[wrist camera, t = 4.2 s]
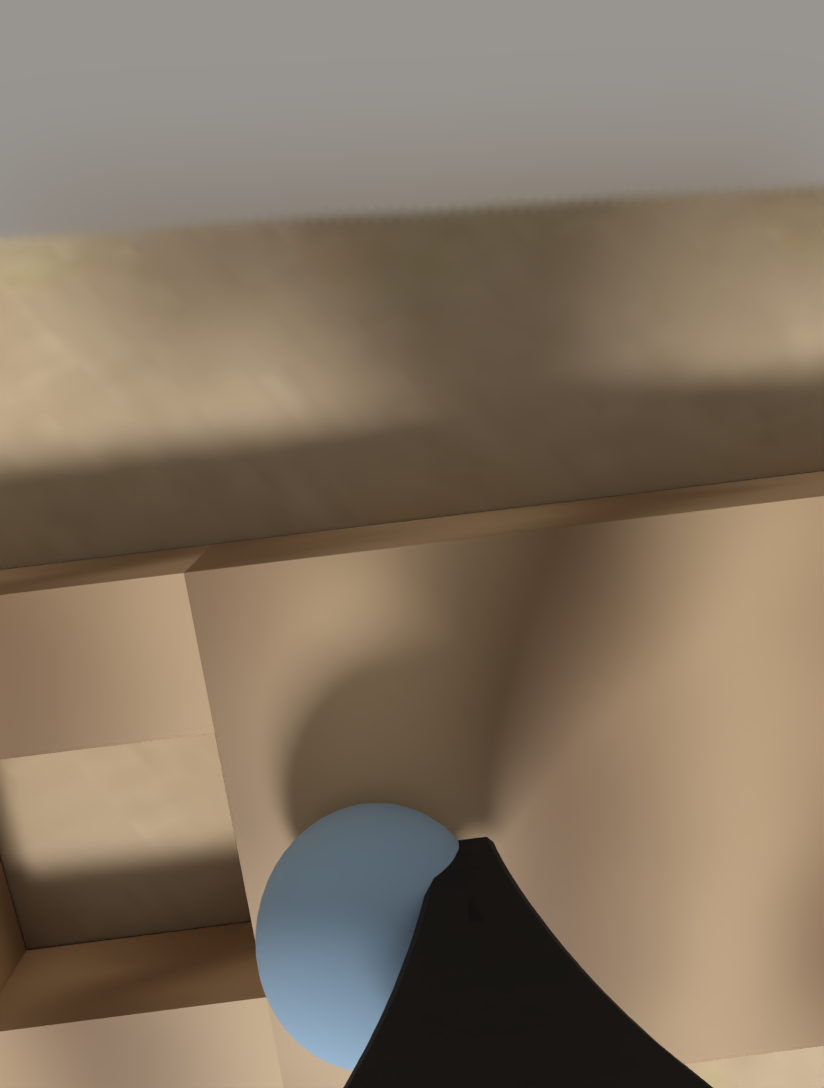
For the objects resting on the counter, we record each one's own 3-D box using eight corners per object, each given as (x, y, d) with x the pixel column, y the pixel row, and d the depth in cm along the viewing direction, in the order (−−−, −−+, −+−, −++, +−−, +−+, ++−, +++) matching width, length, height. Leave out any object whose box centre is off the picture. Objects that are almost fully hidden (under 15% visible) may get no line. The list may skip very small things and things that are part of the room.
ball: (533, 835, 10) (289, 960, 8) (551, 1045, 11) (332, 1198, 9) (404, 738, 13) (208, 814, 11) (426, 906, 14) (245, 1002, 12)
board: (863, 466, 14) (1025, 496, 10) (848, 953, 16) (973, 1109, 13) (-313, 607, 13) (-554, 687, 10) (-141, 1082, 16) (-283, 1276, 12)
